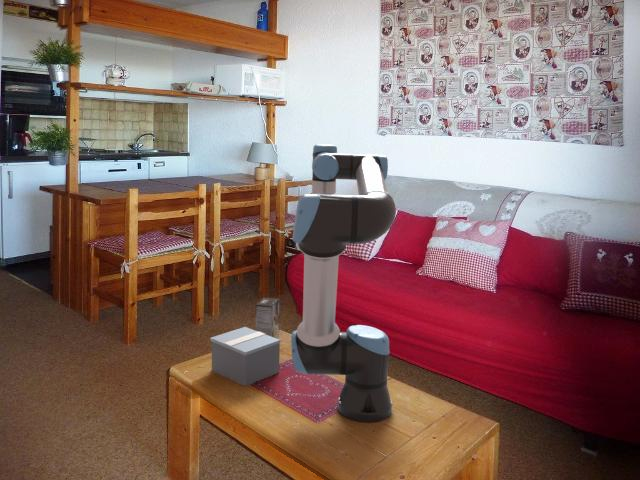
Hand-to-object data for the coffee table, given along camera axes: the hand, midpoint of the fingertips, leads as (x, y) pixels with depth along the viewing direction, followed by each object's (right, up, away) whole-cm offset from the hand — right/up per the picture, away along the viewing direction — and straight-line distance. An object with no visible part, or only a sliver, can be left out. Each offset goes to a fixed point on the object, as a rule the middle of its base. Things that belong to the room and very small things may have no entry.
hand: (320, 266), depth 198 cm
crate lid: (-24, -23, -6) cm, 34 cm away
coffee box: (-19, -29, +19) cm, 39 cm away
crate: (-24, -33, -4) cm, 41 cm away
